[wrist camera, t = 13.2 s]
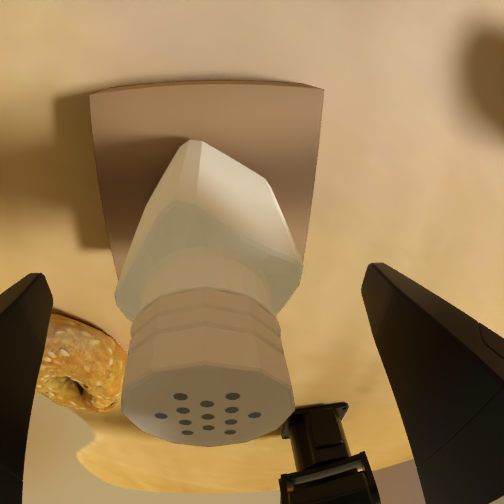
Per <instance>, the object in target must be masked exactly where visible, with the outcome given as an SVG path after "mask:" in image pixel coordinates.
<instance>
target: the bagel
mask: <svg viewBox="0 0 504 504" xmlns="http://www.w3.org/2000/svg"><path fill="white" fill-rule="evenodd" d="M126 361H127V355H126V353H125V351H124V350H123V349H122V348H121V347H120V346H119V345H118V344H117V342H116V340H115V339H113V338H111V337H110V336H107V335H106V334H105V333H103V332H102V331H100V330H97V329H95V328H92V327H90V326H88V325H86V324H83V323H81V322H79V321H77V320H73V319H71V318H68V317H65V316H63V315H59V314H51V316H50V322H49V327H48V333H47V339H46V344H45V350H44V354H43V358H42V362H41V367H40V371H39V375H38V380H37V384H36V389H35V392H40V393H41V394H43V395H45V396H46V397H48V398H49V399H51V400H52V401H53V402H55V403H56V404H59V405H61V406H69V407H73V408H76V409H82V410H88V411H93V412H100V413H107V412H109V411H112V410H113V409H114V408H115V407H117V402H118V401H119V400H120V399H121V396H122V384H123V378H124V372H125V367H126Z"/></svg>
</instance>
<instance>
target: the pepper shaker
mask: <svg viewBox="0 0 504 504" xmlns="http://www.w3.org/2000/svg"><path fill="white" fill-rule="evenodd" d="M302 270H303V262H302V259H301V257H300V255H299V252H298V250H297V247H296V245H295V242H294V240H293V238H292V235H291V233H290V230H289V228H288V226H287V223H286V221H285V219H284V216H283V214H282V212H281V209H280V207H279V205H278V202H277V200H276V198H275V195H274V193H273V191H272V189H271V187H270V185H269V184H268V182H267V181H266V179H265V178H263V177H262V176H260V175H259V174H257V173H255V172H254V171H252V170H250V169H249V168H247V167H246V166H244V165H242V164H241V163H239V162H237V161H236V160H234V159H232V158H231V157H229V156H227V155H225V154H224V153H222V152H220V151H219V150H217V149H215V148H214V147H212V146H210V145H208V144H207V143H205V142H203V141H198V140H189V141H187V142H186V143H184V144H183V145H182V146H180V147H179V149H178V151H177V152H176V154H175V156H174V157H173V159H172V161H171V162H170V164H169V166H168V167H167V169H166V171H165V173H164V174H163V176H162V178H161V180H160V181H159V183H158V185H157V187H156V188H155V190H154V192H153V194H152V196H151V198H150V199H149V201H148V203H147V205H146V207H145V209H144V212H143V214H142V217H141V220H140V222H139V225H138V227H137V230H136V233H135V235H134V238H133V241H132V244H131V246H130V249H129V252H128V255H127V258H126V260H125V263H124V266H123V269H122V272H121V275H120V278H119V281H118V284H117V287H116V290H115V299H116V304H117V306H118V308H119V309H120V310H121V311H122V313H123V314H124V315H125V316H126V317H127V319H129V320H131V321H132V322H133V323H132V326H131V339H130V345H129V350H128V357H127V361H126V367H125V372H124V378H123V384H122V396H121V411H122V413H123V414H124V415H125V416H126V417H127V418H128V419H129V420H130V421H131V422H132V423H133V424H134V425H135V426H136V427H138V428H139V429H140V430H141V431H143V432H145V433H148V434H150V435H153V436H155V437H158V438H161V439H163V440H166V441H169V442H172V443H176V444H185V445H194V446H205V447H213V446H222V445H230V444H237V443H244V442H248V441H250V440H253V439H255V438H258V437H260V436H263V435H265V434H267V433H270V432H272V431H274V430H277V429H278V428H279V427H280V426H281V425H282V424H283V423H284V422H285V420H286V419H287V418H288V417H289V416H290V415H291V414H292V413H293V412H294V411H295V403H294V397H293V391H292V385H291V381H290V377H289V372H288V368H287V364H286V360H285V356H284V351H283V347H282V343H281V338H280V333H281V330H280V326H279V323H278V321H277V318H276V315H277V314H278V313H279V311H280V310H281V309H282V308H283V307H284V305H285V304H286V303H287V301H288V300H289V298H290V297H291V296H292V294H293V293H294V291H295V290H296V289H297V287H298V286H299V283H300V279H301V275H302Z"/></svg>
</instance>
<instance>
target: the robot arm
mask: <svg viewBox="0 0 504 504" xmlns="http://www.w3.org/2000/svg"><path fill="white" fill-rule="evenodd" d="M361 293H362V297H363V301H364V304H365V308H366V312H367V315H368V319H369V323H370V326H371V330H372V334H373V337H374V340H375V343H376V346H377V349H378V352H379V354H380V357H381V360H382V362H383V365H384V368H385V371H386V373H387V376H388V379H389V382H390V385H391V388H392V391H393V393H394V396H395V399H396V402H397V405H398V408H399V411H400V414H401V418H402V421H403V424H404V427H405V430H406V433H407V437H408V440H409V443H410V447H411V450H412V453H413V457H414V460H415V464H416V467H417V472H418V475H419V479H420V483H421V486H422V490H423V494H424V497H425V502H426V504H504V338H502V337H501V336H499V335H498V334H496V333H495V332H493V331H492V330H490V329H488V328H487V327H486V326H484V325H483V324H481V323H478V322H477V321H476V320H475V319H473V318H472V317H470V316H469V315H467V314H466V313H464V312H463V311H461V310H459V309H458V308H456V307H455V306H453V305H452V304H450V303H448V302H447V301H445V300H444V299H442V298H441V297H439V296H437V295H436V294H434V293H433V292H431V291H429V290H428V289H426V288H424V287H423V286H421V285H420V284H418V283H416V282H415V281H413V280H411V279H410V278H408V277H406V276H405V275H403V274H401V273H400V272H398V271H396V270H395V269H393V268H391V267H390V266H388V265H386V264H385V263H371V264H369V265H368V267H367V270H366V273H365V277H364V280H363V284H362V288H361ZM52 306H53V297H52V294H51V291H50V288H49V286H48V283H47V281H46V278H45V276H44V275H43V274H42V273H30V274H28V275H27V276H25V277H24V278H23V279H21V280H20V281H18V282H17V283H15V284H14V285H13V286H11V287H10V288H9V289H7V290H6V291H4V292H3V293H2V294H0V504H22V490H23V481H22V480H23V472H24V461H25V452H26V443H27V435H28V429H29V421H30V416H31V409H32V404H33V399H34V394H35V389H36V384H37V380H38V375H39V371H40V367H41V362H42V358H43V354H44V350H45V344H46V339H47V333H48V327H49V322H50V316H51V311H52ZM348 408H349V406H348V404H347V403H343V404H337V405H331V406H325V407H318V408H312V409H304V410H297V411H294V412H293V413H292V414H291V415H290V416H289V417H288V418H287V419H286V421H285V424H284V428H283V431H282V434H281V436H282V439H290V440H291V445H292V450H293V455H294V460H295V465H296V470H297V472H294V473H290V474H282V475H281V479H279V485H280V491H281V501H280V504H381V501H380V497H379V493H378V489H377V486H376V483H375V480H374V477H373V474H372V471H371V468H370V465H369V462H368V459H367V457H366V454H365V451H363V452H360V454H357V455H354V456H351V453H350V450H349V447H348V443H347V440H346V437H345V433H344V430H343V427H342V423H341V420H342V418H343V417H344V415H345V413H346V411H347V410H348ZM361 468H362V470H363V471H360V472H358V469H361Z"/></svg>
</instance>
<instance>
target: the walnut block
mask: <svg viewBox="0 0 504 504" xmlns="http://www.w3.org/2000/svg"><path fill="white" fill-rule="evenodd" d="M323 98H324V89H320V88H317V87H314V86H310V85H307V84H301V83H289V82H273V81H249V80H200V81H176V82H161V83H149V84H138V85H129V86H121V87H113V88H109V89H106V90H103V91H99V92H96V93H93V94H90V95H89V99H90V113H91V124H92V135H93V144H94V153H95V161H96V168H97V175H98V182H99V188H100V194H101V200H102V206H103V212H104V217H105V222H106V228H107V233H108V237H109V242H110V247H111V251H112V256H113V260H114V265H115V269H116V273H117V277H118V281H119V278H120V275H121V272H122V269H123V266H124V263H125V260H126V258H127V255H128V252H129V249H130V246H131V244H132V241H133V238H134V235H135V233H136V230H137V227H138V225H139V222H140V220H141V217H142V214H143V212H144V209H145V207H146V205H147V203H148V201H149V199H150V198H151V196H152V194H153V192H154V190H155V188H156V187H157V185H158V183H159V181H160V180H161V178H162V176H163V174H164V173H165V171H166V169H167V167H168V166H169V164H170V162H171V161H172V159H173V157H174V156H175V154H176V152H177V151H178V149H179V147H180V146H182V145H183V144H184V143H186V142H187V141H189V140H198V141H203V142H205V143H207V144H208V145H210V146H212V147H214V148H215V149H217V150H219V151H220V152H222V153H224V154H225V155H227V156H229V157H231V158H232V159H234V160H236V161H237V162H239V163H241V164H242V165H244V166H246V167H247V168H249V169H250V170H252V171H254V172H255V173H257V174H259V175H260V176H262V177H263V178H265V179H266V181H267V182H268V184H269V185H270V187H271V189H272V191H273V193H274V195H275V198H276V200H277V202H278V205H279V207H280V209H281V212H282V214H283V216H284V219H285V221H286V223H287V226H288V228H289V230H290V233H291V235H292V238H293V240H294V242H295V245H296V247H297V250H298V252H299V255H300V257H301V259H302V262H303V260H304V253H305V247H306V240H307V233H308V226H309V219H310V212H311V204H312V197H313V189H314V181H315V173H316V165H317V156H318V147H319V138H320V128H321V119H322V108H323Z"/></svg>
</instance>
